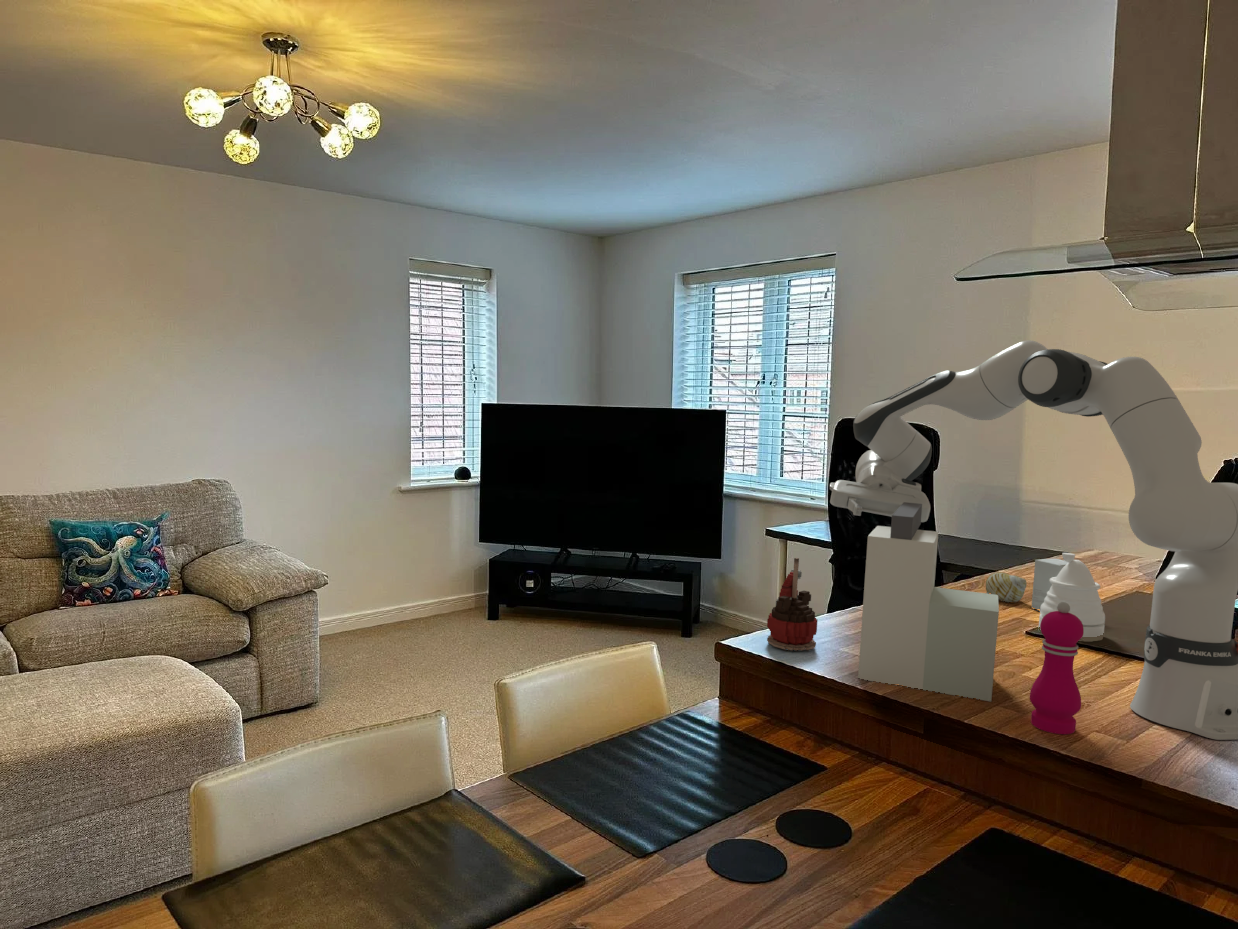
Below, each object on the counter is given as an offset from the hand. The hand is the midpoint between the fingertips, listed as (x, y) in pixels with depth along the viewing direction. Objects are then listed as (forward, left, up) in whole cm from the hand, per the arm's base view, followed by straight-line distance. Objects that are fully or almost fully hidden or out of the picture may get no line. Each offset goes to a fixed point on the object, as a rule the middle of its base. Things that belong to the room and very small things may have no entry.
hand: (881, 516), depth 173 cm
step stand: (-5, +21, -26) cm, 34 cm away
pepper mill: (-19, +41, -27) cm, 52 cm away
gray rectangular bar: (-1, +15, 0) cm, 15 cm away
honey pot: (-48, -17, -27) cm, 57 cm away
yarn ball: (-45, -47, -27) cm, 70 cm away
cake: (+17, +6, -27) cm, 32 cm away
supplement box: (-53, -37, -27) cm, 70 cm away
